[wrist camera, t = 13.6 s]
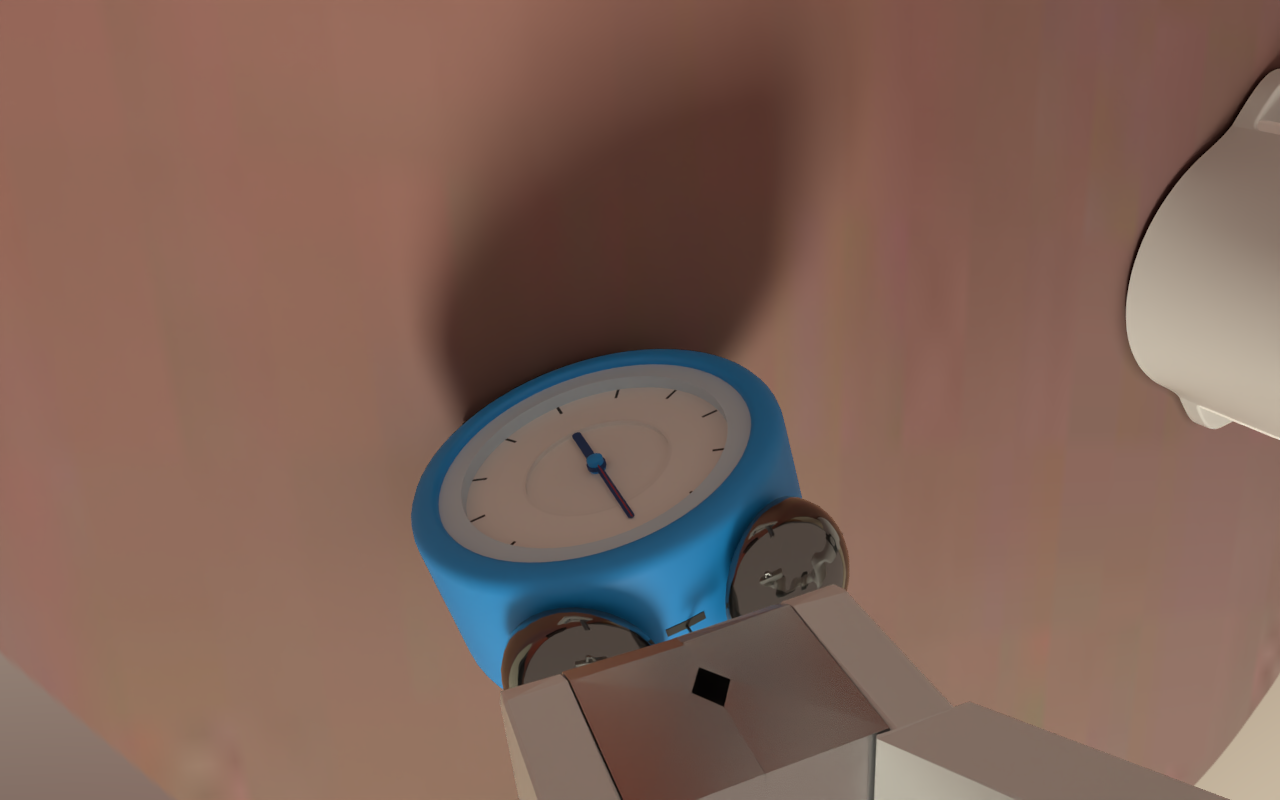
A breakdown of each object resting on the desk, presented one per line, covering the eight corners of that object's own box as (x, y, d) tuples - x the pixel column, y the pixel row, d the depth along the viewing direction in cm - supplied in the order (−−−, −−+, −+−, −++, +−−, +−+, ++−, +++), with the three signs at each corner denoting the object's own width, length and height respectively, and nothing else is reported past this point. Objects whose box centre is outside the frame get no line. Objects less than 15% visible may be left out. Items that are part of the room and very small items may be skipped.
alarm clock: (684, 305, 41) (892, 485, 28) (718, 427, 44) (918, 637, 31) (381, 436, 38) (459, 696, 26) (439, 555, 42) (534, 838, 29)
